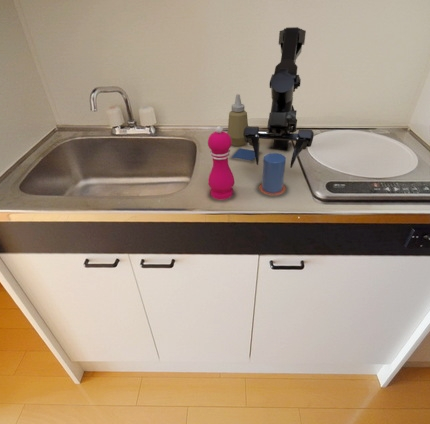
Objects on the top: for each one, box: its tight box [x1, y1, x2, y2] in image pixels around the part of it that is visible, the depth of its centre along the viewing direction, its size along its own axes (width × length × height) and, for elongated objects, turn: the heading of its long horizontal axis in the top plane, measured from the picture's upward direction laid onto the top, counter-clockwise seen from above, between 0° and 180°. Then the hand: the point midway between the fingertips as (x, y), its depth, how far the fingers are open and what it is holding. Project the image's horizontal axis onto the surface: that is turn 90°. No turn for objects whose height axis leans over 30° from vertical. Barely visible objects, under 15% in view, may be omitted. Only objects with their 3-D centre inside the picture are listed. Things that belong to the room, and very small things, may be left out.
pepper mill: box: [207, 125, 235, 200], centre depth 75 cm, size 7×7×20 cm
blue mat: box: [231, 148, 256, 162], centre depth 100 cm, size 8×8×1 cm
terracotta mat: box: [258, 183, 286, 196], centre depth 82 cm, size 8×8×1 cm
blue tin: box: [261, 152, 287, 193], centre depth 79 cm, size 6×6×10 cm
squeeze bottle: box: [227, 93, 249, 147], centre depth 104 cm, size 8×8×18 cm
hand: (273, 165), depth 78 cm, fingers open, 9 cm apart
